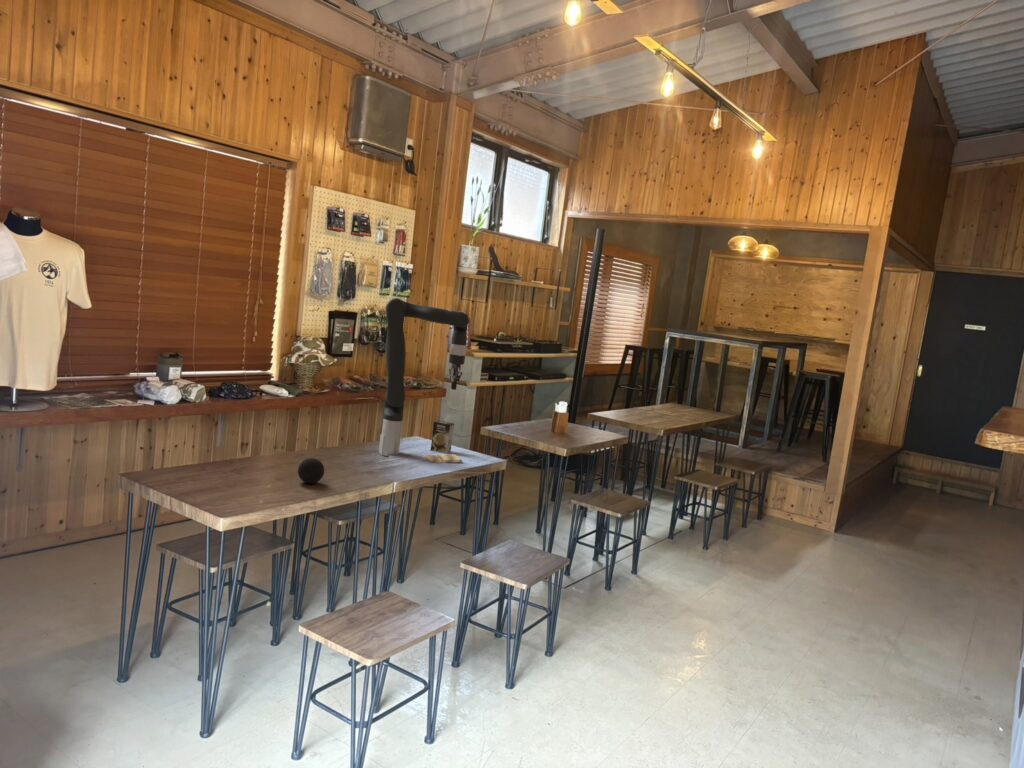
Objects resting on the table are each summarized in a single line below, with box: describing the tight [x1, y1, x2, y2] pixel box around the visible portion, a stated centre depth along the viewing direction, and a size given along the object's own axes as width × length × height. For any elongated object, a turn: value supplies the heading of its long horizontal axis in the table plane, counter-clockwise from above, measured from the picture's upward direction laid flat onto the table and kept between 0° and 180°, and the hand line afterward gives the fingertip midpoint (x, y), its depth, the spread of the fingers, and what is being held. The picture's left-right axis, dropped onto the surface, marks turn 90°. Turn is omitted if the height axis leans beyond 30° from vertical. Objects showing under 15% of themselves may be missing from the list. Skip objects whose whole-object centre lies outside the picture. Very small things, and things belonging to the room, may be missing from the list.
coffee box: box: [430, 420, 455, 455], centre depth 368 cm, size 9×6×16 cm
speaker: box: [297, 457, 325, 485], centre depth 285 cm, size 10×10×10 cm
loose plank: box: [436, 453, 463, 464], centre depth 350 cm, size 9×11×1 cm
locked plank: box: [424, 454, 444, 464], centre depth 347 cm, size 6×11×1 cm, turn 24°
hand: (453, 389), depth 351 cm, fingers closed
